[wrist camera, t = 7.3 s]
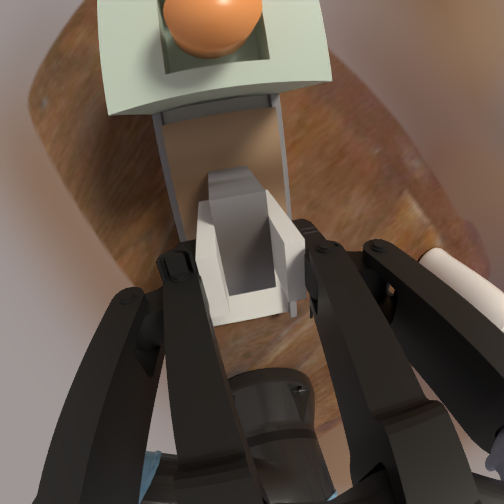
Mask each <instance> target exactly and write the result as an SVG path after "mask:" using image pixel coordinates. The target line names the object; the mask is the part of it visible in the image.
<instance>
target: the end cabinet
mask: <svg viewBox="0 0 504 504" xmlns="http://www.w3.org/2000/svg"><path fill="white" fill-rule="evenodd" d="M164 3H165V0H97V12H98V34H99V47H100V58H101V67H102V76H103V83H104V90H105V97H106V103H107V109H108V115H138V114H154V113H158V112H165V111H169V110H173V109H178V108H182V107H187V106H192V105H197V104H202V103H208V102H214V101H220V100H227V99H234V98H241V97H250V96H259V95H268V94H274V93H282V92H286V91H290V90H294V89H298V88H302V87H306V86H311V85H315V84H320V83H325V82H330V81H332V75H331V67H330V60H329V53H328V47H327V41H326V35H325V29H324V24H323V18H322V13H321V8H320V4H319V0H262V13H261V16H260V18H259V20H258V22H257V24H256V25H255V27H254V29H253V30H252V32H251V34H250V35H249V37H248V39H247V40H246V42H245V43H244V44H243V46H242V47H240V48H239V49H238V50H237V51H235V52H233V53H232V54H230V55H227V56H224V57H221V58H216V59H202V58H197V57H194V56H191V55H189V54H187V53H185V52H184V51H182V50H181V49H180V48H179V47H178V46H177V45H176V43H175V41H174V39H173V37H172V35H171V33H170V30H169V28H168V26H167V24H166V21H165V19H164V14H163V8H164Z"/></svg>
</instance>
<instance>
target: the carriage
mask: <svg viewBox="0 0 504 504" xmlns="http://www.w3.org/2000/svg"><path fill="white" fill-rule="evenodd" d="M161 127H162V132H163V138H164V143H165V148H166V153H167V158H168V163H169V167H170V172H171V177H172V181H173V186H174V190H175V195H176V199H177V203H178V207H179V212H180V216H181V220H182V224H183V228H184V232H185V236H186V240H187V241H189V240H194V239H196V238H197V221H198V206H199V202H200V201H205V200H209V204H210V209H211V214H212V219H213V224H214V228H215V233H216V238H217V242H218V247H219V252H220V257H221V261H222V266H223V270H224V275H225V280H226V285H227V289H228V294H229V296H233V295H239V294H244V293H249V292H254V291H259V290H264V289H269V288H274V287H276V281H275V271H274V262H273V253H272V243H271V234H270V225H269V214H268V206H267V197H266V190H268V191H269V192H270V194H271V195H272V196H273V198H274V199H275V200H276V202H277V203H278V204H279V205H280V207H281V208H282V209H283V211H284V212H285V213H286V215H287V208H286V196H285V185H284V175H283V165H282V155H281V146H280V136H279V128H278V119H277V111H276V107H268V108H259V109H250V110H242V111H235V112H228V113H222V114H216V115H210V116H204V117H199V118H194V119H189V120H184V121H179V122H175V123H171V124H166V125H162V126H161Z"/></svg>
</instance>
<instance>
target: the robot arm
mask: <svg viewBox="0 0 504 504" xmlns="http://www.w3.org/2000/svg"><path fill="white" fill-rule="evenodd" d="M266 197H267V206H268V214H269V225H270V234H271V243H272V253H273V262H274V269H275V271H276V274H277V276H278V278H279V281H280V283H281V285H282V288H283V290H284V292H285V295H286V297H287V300H288V302H291V301H296V300H300V299H305V298H306V288H307V290H308V292H309V294H310V318H313V316H314V319H315V323H316V326H317V330H318V333H319V336H320V340H321V343H322V347H323V350H324V354H325V357H326V361H327V365H328V368H329V372H330V375H331V379H332V383H333V387H334V390H335V394H336V398H337V402H338V406H339V410H340V414H341V417H342V422H343V426H344V430H345V434H346V438H347V442H348V446H349V451H350V474H351V480H352V484H353V487H352V488H350V489H349V490H347V491H346V492H344V493H342V494H341V495H339V496H337V491H336V490H335V489H334V486H333V483H332V480H331V477H330V475H329V471H328V468H327V466H326V463H325V460H324V457H323V454H322V451H321V448H320V445H319V442H318V440H317V437H316V434H315V430H314V412H315V393H314V390H313V387H312V384H311V381H310V379H309V378H308V377H307V376H306V375H305V374H304V373H302V372H299V371H297V370H293V369H287V368H267V369H260V370H255V371H250V372H247V373H244V374H241V375H238V376H236V377H233V378H231V379H229V380H228V379H227V376H226V372H225V369H224V365H223V362H222V358H221V354H220V351H219V347H218V343H217V339H216V336H215V332H214V328H213V324H212V321H211V318H210V313H211V317H217V316H222V315H227V314H230V310H229V303H228V296H227V288H226V281H225V275H224V270H223V266H222V261H221V257H220V252H219V247H218V242H217V238H216V233H215V228H214V224H213V219H212V214H211V209H210V204H209V200H205V201H200V202H199V206H198V221H197V238H196V239H194V240H189V241H184V242H180V243H179V244H178V245H177V246H176V247H175V249H173V250H170V251H167V252H165V253H164V254H162V255H161V256H160V257H159V258H158V259H157V261H156V263H157V266H158V269H159V272H160V275H161V278H162V281H163V286H162V287H161V288H159V289H157V290H155V291H153V292H150V293H148V294H144V292H143V290H142V289H141V288H139V287H130V288H126V289H124V290H121V291H120V292H119V293H117V294H116V295H115V296H114V298H113V299H112V301H111V303H110V305H109V306H108V308H107V310H106V312H105V314H104V316H103V318H102V320H101V322H100V324H99V326H98V328H97V330H96V332H95V334H94V336H93V338H92V340H91V342H90V344H89V346H88V349H87V351H86V353H85V355H84V357H83V360H82V362H81V364H80V366H79V369H78V371H77V373H76V376H75V378H74V380H73V383H72V385H71V388H70V390H69V393H68V395H67V398H66V400H65V403H64V406H63V408H62V411H61V414H60V417H59V419H58V422H57V425H56V428H55V431H54V434H53V437H52V441H51V444H50V447H49V450H48V454H47V457H46V461H45V464H44V469H43V472H42V477H41V480H40V484H39V489H38V494H37V496H36V498H35V500H34V501H33V503H32V504H504V333H503V332H502V331H501V330H500V329H499V328H498V327H497V326H496V325H494V324H493V323H492V322H491V321H490V320H489V319H488V318H487V317H486V316H484V315H483V314H482V313H481V312H480V311H479V310H478V309H476V308H475V307H474V306H473V305H472V304H471V303H469V302H468V301H467V300H466V299H465V298H463V297H462V296H461V295H460V294H459V293H457V292H456V291H455V290H454V289H452V288H451V287H450V286H449V285H447V284H446V283H445V282H444V281H442V280H441V279H440V278H438V277H437V276H436V275H435V274H433V273H432V272H431V271H429V270H428V269H427V268H425V267H424V266H423V265H421V264H420V263H419V262H417V261H416V260H414V259H413V258H412V257H410V256H409V255H408V254H406V253H405V252H403V251H402V250H400V249H399V248H398V247H396V246H395V245H393V244H392V243H390V242H388V241H385V240H382V239H379V240H378V239H374V240H369V241H367V242H365V243H364V245H363V251H357V252H350V251H345V249H344V248H343V246H342V245H341V244H339V243H337V242H335V241H329V240H326V239H325V238H324V236H323V235H322V234H321V233H320V232H319V231H318V230H317V228H316V227H315V226H314V225H313V224H312V223H311V222H310V221H307V220H305V219H298V220H292V221H291V220H290V219H289V217H288V216H287V215H286V213H285V212H284V211H283V209H282V208H281V207H280V205H279V204H278V203H277V202H276V200H275V199H274V198H273V196H272V195H271V194H270V192H269V191H268V190H266ZM390 285H391V286H392V287H393V288H394V289H395V292H394V294H392V293H391V292H390V291H389V288H390ZM164 356H166V368H167V381H168V390H169V400H170V408H171V417H172V424H173V431H174V438H175V444H176V450H177V455H174V454H166V453H161V452H160V451H155V452H149V451H146V446H147V440H148V434H149V429H150V422H151V417H152V412H153V407H154V402H155V397H156V392H157V388H158V383H159V378H160V374H161V369H162V364H163V360H164ZM409 362H410V363H409ZM410 364H411V365H412V366H413V367H414V368H415V369H416V371H417V372H418V373H419V374H420V375H421V377H422V378H423V379H424V380H425V382H426V383H427V384H428V385H429V386H430V388H431V389H432V390H433V391H434V392H435V394H436V395H437V396H438V397H439V399H440V400H441V401H442V403H443V404H444V405H445V406H446V407H447V409H448V410H449V411H450V412H451V414H452V415H453V416H454V418H455V419H456V420H457V422H458V423H459V424H460V426H461V427H462V428H463V429H464V431H465V432H466V433H467V434H468V435H469V436H470V438H471V439H472V440H473V441H474V442H475V443H476V444H477V445H478V446H479V447H480V448H482V449H483V450H484V451H486V452H488V453H489V454H490V455H489V456H488V457H487V459H486V461H485V467H486V469H487V470H489V471H494V470H496V471H497V472H498V473H499V475H500V478H501V481H500V480H496V479H493V478H489V477H486V476H483V475H479V474H476V473H473V472H471V469H470V467H469V463H468V461H467V458H466V455H465V453H464V450H463V447H462V444H461V442H460V440H459V437H458V435H457V432H456V430H455V427H454V425H453V423H452V420H451V418H450V416H449V414H448V411H447V410H446V409H445V407H444V405H443V404H442V403H441V402H439V401H437V400H435V401H434V400H428V399H427V398H426V396H425V395H424V393H423V391H422V389H421V386H420V384H419V382H418V380H417V378H416V376H415V374H414V372H413V369H412V367H411V365H410Z"/></svg>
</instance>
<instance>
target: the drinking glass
mask: <svg viewBox="0 0 504 504" xmlns="http://www.w3.org/2000/svg"><path fill="white" fill-rule="evenodd" d="M419 263H420V264H421V265H423V266H424V267H425V268H427V269H428V270H429V271H431V272H432V273H433V274H435V275H436V276H437V277H438V278H440V279H441V280H442V281H444V282H445V283H446V284H447V285H449V286H450V287H451V288H452V289H454V290H455V291H456V292H457V293H459V294H460V295H461V296H462V297H463V298H465V299H466V300H467V301H468V302H469V303H471V304H472V305H473V306H474V307H475V308H476V309H478V310H479V311H480V312H481V313H482V314H483V315H484V316H486V317H487V318H488V319H489V320H490V321H491V322H492V323H493V324H494V325H496V326H497V327H498V328H499V329H500V330H501V331H502V332H503V333H504V293H503V292H502V291H501V290H499V289H498V288H497V287H495V286H494V285H493V284H491V283H490V282H489V281H487V280H486V279H484V278H483V277H482V276H480V275H479V274H477V273H476V272H474V271H473V270H471V269H470V268H468V267H467V266H465V265H464V264H462V263H461V262H459V261H458V260H456V259H455V258H453V257H452V256H450V255H449V254H448V253H447V252H445V251H444V250H442V249H441V248H433V249H431V250H429V251H428V252H426V253H425V254H424V255H423V257H422V258H421V259H420V261H419Z"/></svg>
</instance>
